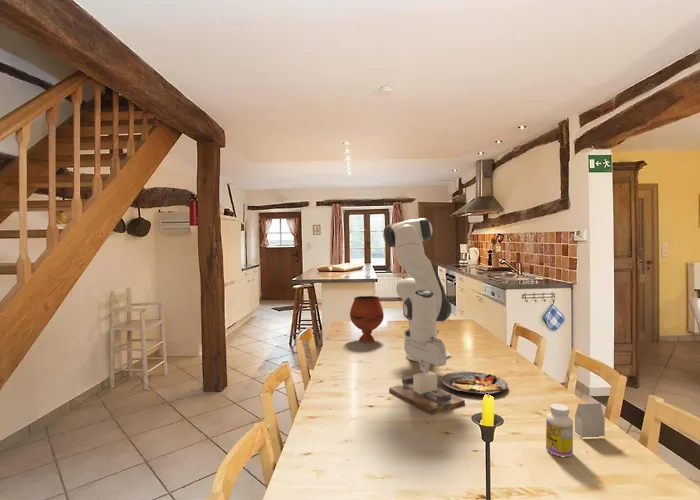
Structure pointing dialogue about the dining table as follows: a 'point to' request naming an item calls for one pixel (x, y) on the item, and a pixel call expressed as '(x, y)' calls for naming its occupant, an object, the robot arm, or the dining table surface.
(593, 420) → the grey upright block
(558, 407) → the supplement bottle
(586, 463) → the dining table surface
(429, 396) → the rail board
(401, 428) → the dining table surface
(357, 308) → the goblet
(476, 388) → the food plate
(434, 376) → the block
